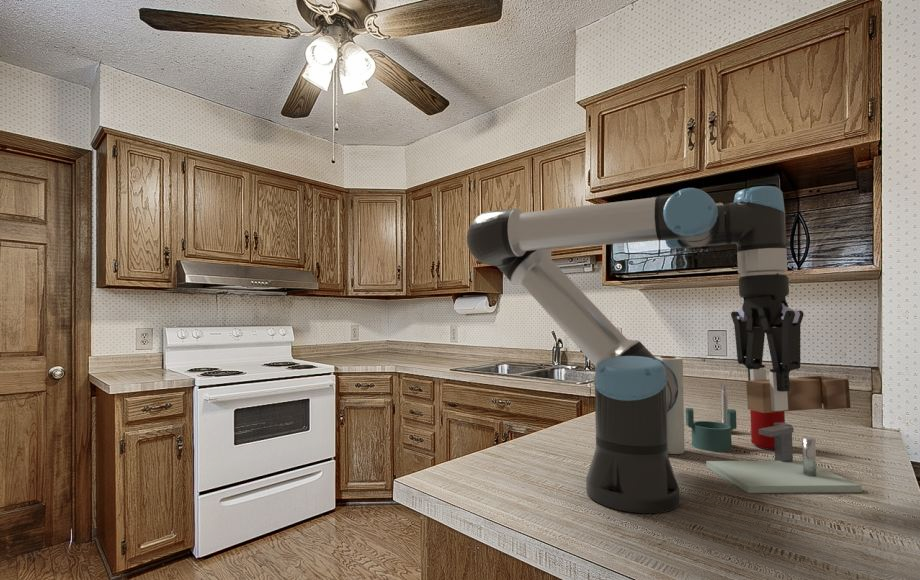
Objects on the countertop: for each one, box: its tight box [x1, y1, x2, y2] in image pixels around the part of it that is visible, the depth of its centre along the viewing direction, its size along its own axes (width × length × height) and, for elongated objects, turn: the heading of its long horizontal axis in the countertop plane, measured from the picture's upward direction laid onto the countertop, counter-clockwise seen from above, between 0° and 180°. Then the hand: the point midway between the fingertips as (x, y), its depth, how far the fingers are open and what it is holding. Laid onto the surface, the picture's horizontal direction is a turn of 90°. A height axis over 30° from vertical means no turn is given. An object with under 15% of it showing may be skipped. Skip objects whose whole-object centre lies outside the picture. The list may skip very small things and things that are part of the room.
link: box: [745, 375, 851, 413], centre depth 85 cm, size 17×6×5 cm, turn 101°
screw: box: [715, 381, 729, 424], centre depth 127 cm, size 13×5×5 cm
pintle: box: [801, 436, 817, 477], centre depth 90 cm, size 2×2×7 cm
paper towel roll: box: [654, 355, 686, 455], centre depth 109 cm, size 7×6×21 cm
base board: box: [705, 459, 862, 494], centre depth 91 cm, size 20×14×1 cm
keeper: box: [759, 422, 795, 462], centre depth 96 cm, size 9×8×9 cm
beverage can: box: [749, 410, 786, 451], centre depth 112 cm, size 7×7×12 cm
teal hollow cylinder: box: [685, 407, 738, 453], centre depth 113 cm, size 9×9×9 cm
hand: (769, 407), depth 84 cm, fingers closed on link, 3 cm apart
